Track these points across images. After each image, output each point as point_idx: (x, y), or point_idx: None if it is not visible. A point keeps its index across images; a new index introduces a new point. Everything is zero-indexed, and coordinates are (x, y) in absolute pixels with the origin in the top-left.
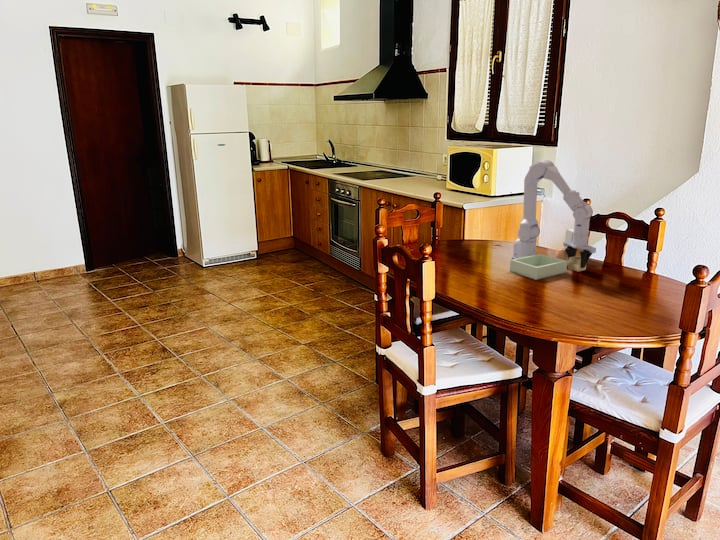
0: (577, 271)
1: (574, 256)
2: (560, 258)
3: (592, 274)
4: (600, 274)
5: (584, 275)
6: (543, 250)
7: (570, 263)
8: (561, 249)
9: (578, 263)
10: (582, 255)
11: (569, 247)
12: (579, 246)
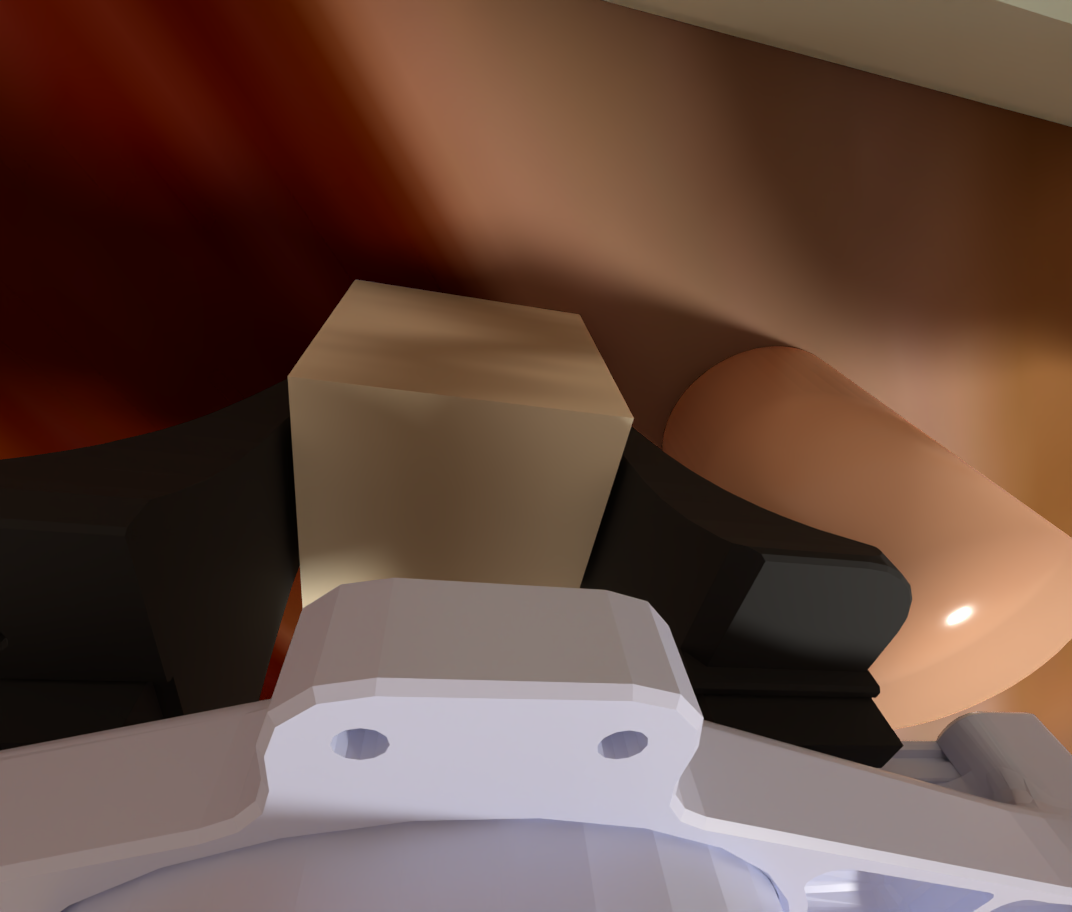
0: (367, 281)
1: (573, 564)
2: (825, 418)
3: (66, 306)
4: (11, 410)
5: (62, 96)
6: (1040, 720)
7: (553, 351)
8: (967, 615)
9: (329, 340)
10: (103, 469)
11: (803, 712)
12: (93, 869)
